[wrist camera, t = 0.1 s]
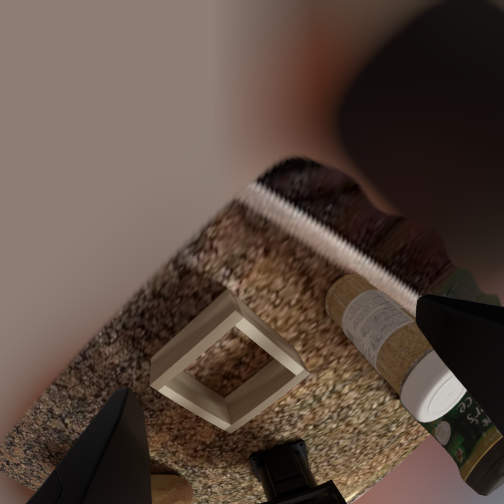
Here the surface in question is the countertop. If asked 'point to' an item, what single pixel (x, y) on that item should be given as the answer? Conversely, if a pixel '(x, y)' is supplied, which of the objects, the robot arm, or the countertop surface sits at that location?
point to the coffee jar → (471, 444)
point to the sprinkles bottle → (394, 347)
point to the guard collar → (203, 337)
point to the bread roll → (170, 490)
